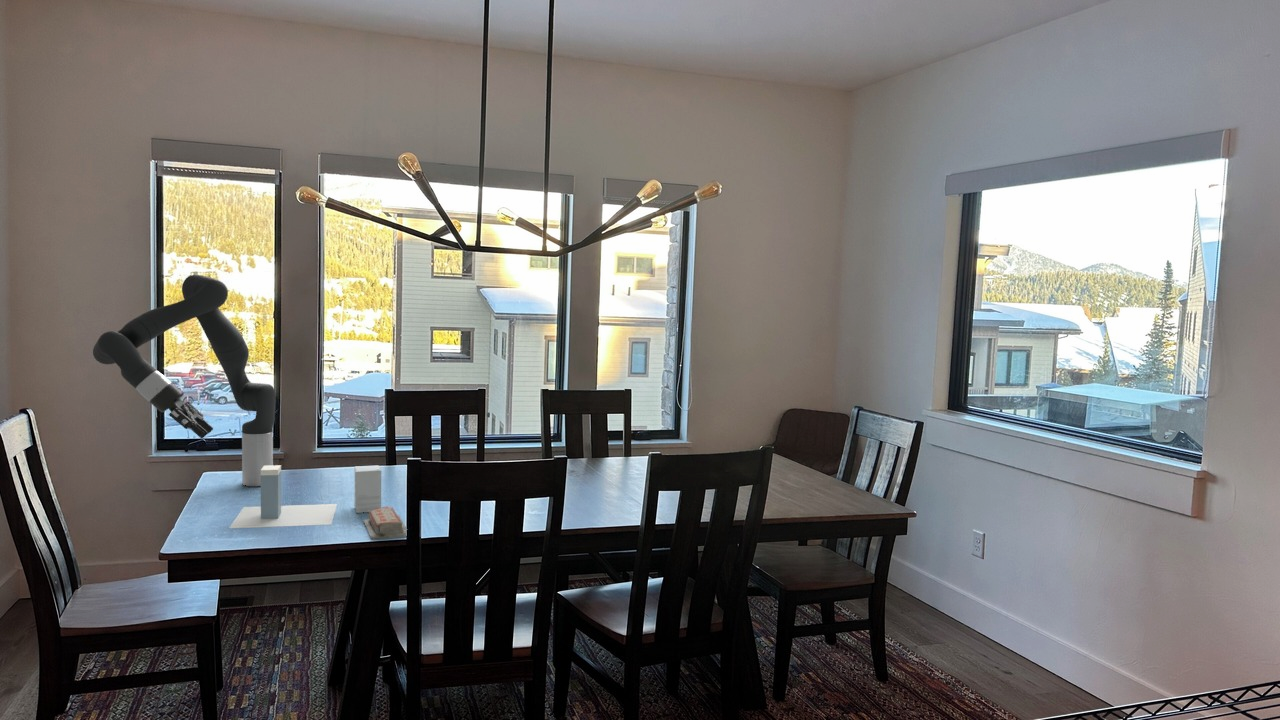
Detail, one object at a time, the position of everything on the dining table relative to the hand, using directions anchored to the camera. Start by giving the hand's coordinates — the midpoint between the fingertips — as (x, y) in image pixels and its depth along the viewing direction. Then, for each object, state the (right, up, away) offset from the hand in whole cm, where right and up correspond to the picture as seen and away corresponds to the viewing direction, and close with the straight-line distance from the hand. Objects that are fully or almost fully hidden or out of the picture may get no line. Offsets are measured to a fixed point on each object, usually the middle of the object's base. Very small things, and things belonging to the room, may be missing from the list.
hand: (207, 433), depth 234 cm
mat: (+19, -25, +8) cm, 32 cm away
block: (+15, -24, +6) cm, 29 cm away
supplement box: (+38, -25, +18) cm, 49 cm away
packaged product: (+49, -27, 0) cm, 56 cm away
